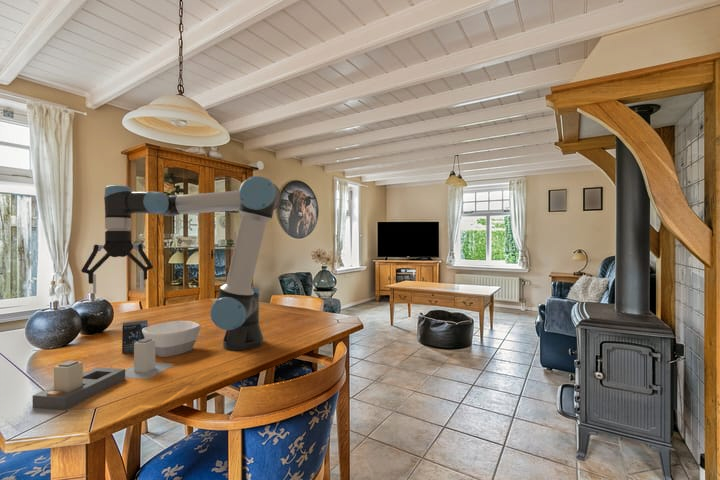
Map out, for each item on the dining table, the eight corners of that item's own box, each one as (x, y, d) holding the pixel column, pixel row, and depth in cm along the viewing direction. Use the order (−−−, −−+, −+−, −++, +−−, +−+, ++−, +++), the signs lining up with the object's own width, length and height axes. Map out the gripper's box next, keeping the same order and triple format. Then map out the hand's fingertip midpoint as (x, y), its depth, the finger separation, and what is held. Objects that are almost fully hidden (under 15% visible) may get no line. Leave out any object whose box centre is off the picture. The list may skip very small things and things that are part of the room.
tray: (175, 365, 112) (175, 363, 112) (147, 380, 100) (148, 378, 100) (142, 363, 114) (142, 361, 114) (111, 378, 102) (111, 376, 102)
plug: (155, 367, 109) (155, 338, 109) (145, 372, 105) (145, 342, 105) (143, 367, 109) (143, 337, 109) (134, 371, 105) (134, 341, 105)
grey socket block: (125, 380, 100) (125, 367, 100) (64, 412, 82) (64, 395, 82) (98, 379, 101) (98, 365, 101) (32, 409, 83) (32, 393, 83)
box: (122, 355, 122) (122, 325, 121) (122, 350, 126) (122, 322, 126) (147, 351, 126) (147, 322, 126) (147, 347, 131) (147, 319, 130)
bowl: (159, 364, 113) (159, 336, 113) (133, 354, 122) (133, 328, 122) (208, 349, 128) (208, 325, 128) (181, 341, 138) (181, 318, 137)
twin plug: (82, 396, 89) (82, 360, 89) (67, 403, 85) (67, 366, 85) (69, 395, 90) (69, 359, 90) (54, 402, 86) (53, 365, 86)
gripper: (157, 230, 129) (158, 286, 130) (71, 230, 113) (72, 293, 114) (161, 230, 124) (162, 288, 124) (71, 229, 108) (72, 296, 108)
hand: (119, 291), depth 119 cm, fingers open, 13 cm apart
